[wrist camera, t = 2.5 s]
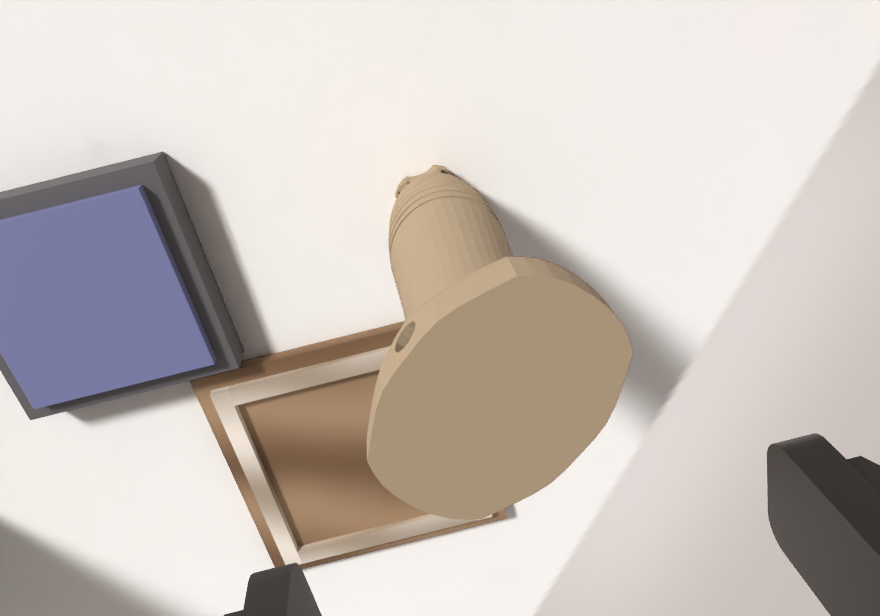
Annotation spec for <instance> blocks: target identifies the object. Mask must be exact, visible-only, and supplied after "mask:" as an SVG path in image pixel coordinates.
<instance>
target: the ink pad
mask: <svg viewBox="0 0 880 616" xmlns="http://www.w3.org/2000/svg"><path fill="white" fill-rule="evenodd" d="M243 352H244V350H243V347H242V345H241V342H240V340H239V337H238V335H237V332H236V330H235V327H234V325H233V323H232V320H231V318H230V315H229V313H228V310H227V308H226V305H225V303H224V300H223V298H222V295H221V293H220V290H219V288H218V286H217V283H216V281H215V278H214V276H213V273H212V271H211V268H210V266H209V263H208V261H207V258H206V256H205V254H204V251H203V249H202V246H201V244H200V241H199V239H198V236H197V234H196V231H195V229H194V226H193V224H192V221H191V219H190V217H189V214H188V212H187V209H186V207H185V204H184V202H183V199H182V197H181V194H180V192H179V189H178V187H177V185H176V182H175V180H174V177H173V175H172V172H171V170H170V167H169V165H168V162H167V160H166V157H165V155H164V152H160V153H156V154H152V155H148V156H144V157H140V158H136V159H132V160H128V161H124V162H120V163H116V164H112V165H108V166H104V167H100V168H96V169H92V170H88V171H84V172H80V173H76V174H72V175H68V176H64V177H60V178H56V179H52V180H48V181H44V182H40V183H36V184H32V185H28V186H24V187H20V188H16V189H12V190H8V191H4V192H0V370H1V372H2V374H3V375H4V377H5V379H6V380H7V382H8V384H9V385H10V387H11V389H12V390H13V392H14V394H15V396H16V397H17V399H18V401H19V402H20V404H21V406H22V407H23V409H24V411H25V412H26V414H27V416H28V417H29V419H30V420H33V419H37V418H41V417H45V416H49V415H53V414H57V413H61V412H65V411H69V410H73V409H77V408H81V407H85V406H89V405H93V404H97V403H101V402H105V401H109V400H113V399H117V398H121V397H125V396H129V395H133V394H137V393H141V392H145V391H150V390H154V389H158V388H162V387H166V386H170V385H174V384H178V383H182V382H186V381H190V380H194V379H198V378H202V377H206V376H210V375H214V374H218V373H222V372H226V371H230V370H234V369H238V368H239V366H240V363H241V359H242V356H243Z"/></svg>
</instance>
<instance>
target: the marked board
mask: <svg viewBox="0 0 880 616" xmlns="http://www.w3.org/2000/svg"><path fill="white" fill-rule="evenodd" d="M404 322H405V321H404ZM404 322H400V323H396V324H392V325H388V326H384V327H380V328H376V329H372V330H368V331H364V332H360V333H356V334H352V335H348V336H344V337H340V338H336V339H332V340H328V341H324V342H320V343H315V344H311V345H307V346H303V347H299V348H295V349H291V350H287V351H283V352H279V353H275V354H271V355H267V356H263V357H259V358H255V359H251V360H247V361H243V362H241V363H240V366H239V368H238V369H234V370H230V371H226V372H222V373H218V374H214V375H210V376H206V377H202V378H198V379H194V380H190V382H191V385H192V387H193V389H194V391H195V393H196V396H197V398H198V400H199V402H200V404H201V407H202V409H203V411H204V413H205V415H206V417H207V420H208V422H209V424H210V426H211V428H212V431H213V433H214V435H215V437H216V439H217V442H218V444H219V446H220V448H221V450H222V452H223V455H224V457H225V459H226V461H227V463H228V466H229V468H230V470H231V472H232V474H233V477H234V479H235V481H236V483H237V485H238V487H239V490H240V492H241V494H242V496H243V498H244V501H245V503H246V505H247V507H248V509H249V512H250V514H251V516H252V518H253V520H254V522H255V525H256V527H257V529H258V531H259V533H260V536H261V538H262V540H263V542H264V544H265V547H266V549H267V551H268V553H269V555H270V557H271V560H272V562H273V564H274V566H275V568H276V567H280V566H284V565H288V564H292V563H298V564H299V566H300V567H301V569H303V568H307V567H311V566H316V565H320V564H324V563H328V562H332V561H336V560H340V559H344V558H348V557H352V556H356V555H360V554H364V553H368V552H372V551H376V550H380V549H384V548H388V547H392V546H396V545H400V544H404V543H408V542H412V541H416V540H420V539H424V538H428V537H432V536H436V535H440V534H444V533H449V532H453V531H457V530H461V529H465V528H469V527H473V526H477V525H481V524H485V523H489V522H493V521H497V520H501V519H505V518H507V516H506V511H505V508H504V509H502V510H500V511H498V512H496V513H494V514H492V515H489V516H487V517H485V518H483V519H472V520H463V519H449V518H445V517H441V516H437V515H433V514H430V513H427V512H425V511H422V510H420V509H417V508H415V507H413V506H411V505H409V504H407V503H406V502H404V501H402V500H401V499H399V498H397V497H396V496H395V495H393V494H392V493H391V492H390V491H389V490H387V489H386V488H385V487H384V486H383V485H382V484H381V483H380V481H379V480H378V479H377V477H376V476H375V475H374V473H373V472H372V470H371V468H370V466H369V464H368V462H367V432H368V425H369V418H370V411H371V406H372V400H373V395H374V391H375V386H376V382H377V378H378V374H379V370H380V367H381V364H382V362H383V360H384V358H385V356H386V354H387V352H388V350H389V348H390V346H391V345H392V343H393V340H394V339H395V337H396V335H397V334H398V332H399V330H400V329H401V327H402V325H403V324H404Z"/></svg>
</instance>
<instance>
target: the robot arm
mask: <svg viewBox="0 0 880 616" xmlns="http://www.w3.org/2000/svg"><path fill="white" fill-rule="evenodd" d="M767 477H768V478H767V479H768V480H767V481H768V516H769V521H770V525H771V528H772V531H773V534H774V536H775V538H776V540H777V542H778V544H779V546H780V548H781V549H782V551H783V552H784V553H785V555H786V556H787V557H788V559H789V560H790V562H791V563H792V564H793V566H794V567H795V568H796V570H797V571H798V572H799V574H800V575H801V576H802V578H803V579H804V580H805V582H806V583H807V584H808V586H809V587H810V588H811V590H812V591H813V592H814V594H815V595H816V596H817V598H818V599H819V600H820V602H821V603H822V604H823V606H824V607H825V608H826V610H827V611H828V612H829V614H830V615H831V616H880V465H878V464H876V463H874V462H871V461H870V460H868V459H866V458H864V457H862V456H859V457H855V458H851V459H847V460H846V459H845V458H844V457H843V456H842V455H841V454H840V453H839V452H838V451H837V450H836V449H835V448H834V447H833V446H832V445H831V444H830V443H829V442H828V441H827V440H826V439H825V438H824V437H822V436H821V435H819V434H810V435H807V436H802V437H799V438H794V439H790V440H787V441H783V442H779V443H775V444H771V445H770V446H769V448H768V451H767ZM224 616H322V615H321V613H320V611H319V608H318V606H317V604H316V601H315V599H314V597H313V594H312V592H311V590H310V587H309V585H308V583H307V580H306V578H305V576H304V573H303V571H302V569H301V567H300V566H299V564H298V563H292V564H288V565H284V566H280V567H276V568H272V569H268V570H264V571H260V572H256V573H253V574H252V575H251V576H250V578H249V582H248V587H247V592H246V598H245V604H244V610H241V611H237V612H233V613H229V614H225V615H224Z"/></svg>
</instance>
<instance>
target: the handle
mask: <svg viewBox="0 0 880 616" xmlns="http://www.w3.org/2000/svg"><path fill="white" fill-rule="evenodd" d="M395 196H396V198H397V199H396V202H395V204H394V207H393V210H392V214H391V219H390V227H389V252H390V262H391V269H392V272H393V276H394V279H395V283H396V286H397V290H398V293H399V297H400V300H401V304H402V307H403V311H404V315H405V319H406V321H405V322H404V324H403V325H402V327H401V329H400V330H399V332H398V334H397V335H396V337H395V339H394V340H393V343H392V345H391V346H390V348H389V350H388V352H387V354H386V356H385V358H384V360H383V362H382V364H381V367H380V370H379V374H378V378H377V382H376V386H375V391H374V395H373V400H372V406H371V411H370V418H369V425H368V432H367V462H368V464H369V466H370V468H371V470H372V472H373V473H374V475H375V476H376V477H377V479H378V480H379V481H380V483H381V484H382V485H383V486H384V487H385V488H386V489H387V490H389V491H390V492H391V493H392V494H393V495H395V496H396V497H397V498H399V499H401V500H402V501H404V502H406V503H407V504H409V505H411V506H413V507H415V508H417V509H420V510H422V511H425V512H427V513H430V514H433V515H437V516H441V517H445V518H449V519H463V520H472V519H483V518H485V517H487V516H489V515H492V514H494V513H496V512H498V511H500V510H502V509H504V508H506V507H509V506H511V505H513V504H515V503H517V502H519V501H521V500H523V499H525V498H527V497H529V496H531V495H533V494H534V493H536V492H538V491H539V490H541V489H542V488H544V487H546V486H547V485H549V484H550V483H552V482H553V481H554V480H555V479H556V478H557V477H558V476H559V475H561V474H562V473H563V472H564V471H565V470H566V469H567V468H568V467H569V466H570V465H571V464H572V463H573V462H574V461H575V459H576V458H577V457H578V456H579V455H580V454H581V453H582V452H583V451H584V450H585V449H586V448H587V447H588V446H589V445H590V443H591V442H592V441H593V440H594V439H595V438H596V436H597V435H598V434H599V433H600V431H601V430H602V429H603V427H604V426H605V425H606V424H607V422H608V420H609V418H610V416H611V414H612V412H613V410H614V408H615V405H616V403H617V400H618V397H619V394H620V392H621V389H622V386H623V383H624V380H625V377H626V374H627V371H628V368H629V365H630V362H631V359H632V356H633V350H632V347H631V343H630V339H629V337H628V335H627V333H626V330H625V328H624V326H623V324H622V323H621V322H620V320H619V319H618V318H617V316H616V315H615V314H614V312H613V311H612V310H611V309H610V307H609V306H608V305H607V304H606V302H605V301H604V300H603V299H602V298H601V296H600V295H599V294H598V293H597V292H596V291H595V290H594V289H593V288H592V287H590V286H589V285H588V284H587V283H586V282H584V281H583V280H582V279H581V278H580V277H578V276H576V275H575V274H573V273H571V272H569V271H568V270H566V269H564V268H562V267H561V266H558V265H556V264H553V263H550V262H547V261H545V260H542V259H537V258H529V257H513V256H512V253H511V251H510V248H509V245H508V242H507V239H506V236H505V234H504V231H503V229H502V227H501V225H500V223H499V221H498V219H497V217H496V216H495V214H494V212H493V211H492V209H491V207H490V206H489V204H488V203H487V202H486V201H485V200H484V199H483V197H482V196H481V195H480V194H479V193H478V192H477V191H476V190H475V189H474V188H473V187H471V186H470V185H469V184H468V183H467V182H465V181H463V180H461V179H460V178H458V177H455V176H452V175H451V174H450V173H449V171H448V170H447V168H446V167H444V166H439V165H433V166H432V167H431V169H429V170H428V171H427V172H425V173H423V174H421V175H418V176H415V177H405V178H404V179H403V180H402V181H401V182H400V184H399V186H398V187H397V190H396V195H395Z"/></svg>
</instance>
